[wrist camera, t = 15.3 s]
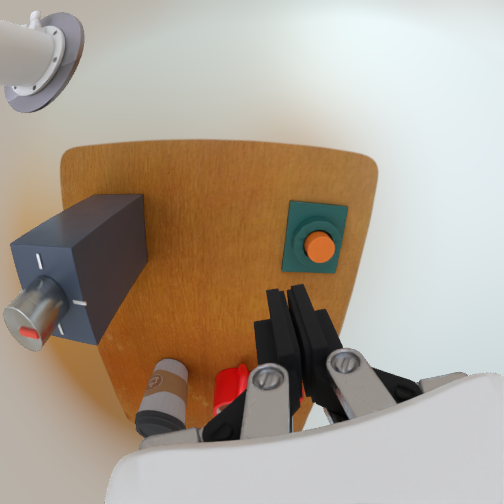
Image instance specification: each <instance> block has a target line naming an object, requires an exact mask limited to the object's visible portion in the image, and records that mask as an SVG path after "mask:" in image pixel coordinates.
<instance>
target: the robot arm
mask: <svg viewBox="0 0 504 504" xmlns="http://www.w3.org/2000/svg"><path fill="white" fill-rule="evenodd" d="M40 15H41V11H39V10H37V11H34V12H32V13H31V18H30V26H29V27H28V24H24V25H22V26H21V25H17V24H14V23H11V22H7V21H3V20H0V86H12V88H13V90H14V92H15V93H16V94H18V95H20V96H31V95H34V94H36V93H37V92H39V91H40V90H42V89H43V88H44V87H45V86H46V85H47V84H48V83H49V82H50V80H51V79H52V78H53V76H54V75H55V73H56V71H57V70H58V68H59V65H60V63H61V61H62V58H63V55H64V51H65V36H64V34H63V32H62V31H61V30H60V29H59V28H57V27H54V26H46V27H43V28H42V27H41V23H39V20H40ZM266 293H267V300H268V306H269V313H270V319H268V320H261V321H255V322H254V330H255V339H256V349H257V359H258V366H257V367H256V368H254V369H253V370H252V371H251V373H250V375H249V377H248V384H247V389H245V390H244V391H243V392H242V393H241V394H240V395H239V396H238V397H237V398H236V399H235V400H233V401H232V402H231V403H230V404H229V405H228V406H227V407H226V408H225V409H223V410H222V411H221V412H220V413H219V414H218V415H216V416H215V417H214V418H213V419H212V420H211V421H209V422H208V423H207V424H206V426H205V427H203V428H199V429H197V428H196V427H193V428H188V429H184V430H179V431H174V432H169V433H163V434H157V435H152V436H149V437H146V438H145V439H144V440H143V441H142V442H141V444H140V447H139V450H138V451H135V452H132V453H130V454H128V455H126V456H124V457H123V458H122V459H120V461H119V462H118V463H117V464H116V466H115V468H114V470H113V472H112V474H111V477H110V480H109V484H108V487H107V492H106V496H105V502H104V504H504V377H503V376H501V375H499V374H496V373H479V374H473V375H469V376H468V375H467V374H466V373H463V372H456V373H451V374H446V375H442V376H437V377H432V378H427V379H421V380H420V381H419V382H417V383H415V382H413V381H411V380H409V379H406V378H402V377H399V376H396V375H393V374H390V373H387V372H384V371H381V370H378V369H375V368H373V367H371V366H370V365H369V364H368V362H367V361H366V359H365V358H364V357H363V355H362V354H361V353H360V352H358V351H357V350H354V349H351V348H343V346H342V344H341V342H340V339H339V337H338V335H337V333H336V330H335V328H334V326H333V324H332V321H331V319H330V317H329V315H328V313H327V311H326V309H321V310H317V311H314V309H313V306H312V304H311V301H310V299H309V296H308V294H307V292H306V289H305V287H304V285H303V284H300V285H294V286H291V289H290V290H287V297H288V305H287V302H286V298H285V295H284V291H279V290H278V288H277V289H272V290H266ZM288 306H289V309H288ZM302 381H303V385H304V390H305V394H306V397H310V396H311V398H312V402H313V403H314V402H316V404H318V405H320V406H322V407H323V408H324V412H325V414H326V416H327V418H328V420H329V422H330V424H331V425H327V426H323V427H319V428H314V429H310V430H305V431H299V432H294V433H293V415H294V413H295V412H296V411H297V410H298V409H299V408H300V398H303V392H302Z"/></svg>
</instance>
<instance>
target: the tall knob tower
mask: <svg viewBox="0 0 504 504" xmlns="http://www.w3.org/2000/svg"><path fill="white" fill-rule="evenodd" d="M10 246H11V251H12V255H13V259H14V262H15V266H16V270H17V273H18V277H19V280H20V283H21V286H22V289H23V290H24V289H25V288H26V287H27V286H28V285H29V284H30V283H31V282H32V281H33V280H34V279H35V278H37V277H39V276H45V277H48V278H50V279H52V280H53V281H54V282H56V283H57V284H58V285H59V287H60V288H61V289H62V291H63V292H64V294H65V296H66V298H67V301H68V312H67V314H66V315H65V317H64V318H63V319H62V321H61V322H60V323H59V325H58V326H57V327H56V329H55V330H54V332H53V333H52V334H51V335H53V336H56V337H60V338H65V339H69V340H73V341H78V342H82V343H87V344H92V345H98V344H99V342H100V340H101V338H102V336H103V335H104V333H105V331H106V329H107V327H108V326H109V324H110V322H111V320H112V319H113V317H114V315H115V314H116V312H117V310H118V309H119V307H120V305H121V304H122V302H123V300H124V299H125V297H126V295H127V294H128V292H129V290H130V289H131V287H132V286H133V284H134V282H135V281H136V279H137V278H138V276H139V275H140V273H141V271H142V270H143V268H144V267H145V265H146V264H147V262H148V260H147V249H146V236H145V222H144V201H143V194H109V195H92V196H90V197H89V198H87V199H85V200H83V201H81V202H79V203H77V204H75V205H73V206H72V207H70V208H68V209H66V210H64V211H62V212H61V213H59V214H57V215H56V216H54V217H52V218H50V219H49V220H47V221H45V222H44V223H42V224H40V225H39V226H37V227H35V228H34V229H32V230H31V231H29V232H27V233H26V234H24V235H23V236H21V237H20V238H18V239H17V240H15V241H14V242H12V243H11V244H10ZM23 290H20V293H21V292H22V291H23Z"/></svg>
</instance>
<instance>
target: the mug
mask: <svg viewBox="0 0 504 504" xmlns="http://www.w3.org/2000/svg"><path fill="white" fill-rule="evenodd" d="M250 373H251V372H250V371H247V366H246V365H245V364H244V363H241V364H239V365H238V368H229V369H225V370H223V371H221V372H219V373H218V374H217V376H216V378H215V389H214V402H213V414H214V416H216V415H218V414H219V413H220V412H221V411H222V410H223V409H225V408H226V407H227V406H228V405H229V404H230V403H231V402H232V401H233V400H235V399H236V398H237V397H238V396H239V395H240V394H241V393H242V392H243V391H244V390H245V389H247V384H248V377H249V375H250Z"/></svg>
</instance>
